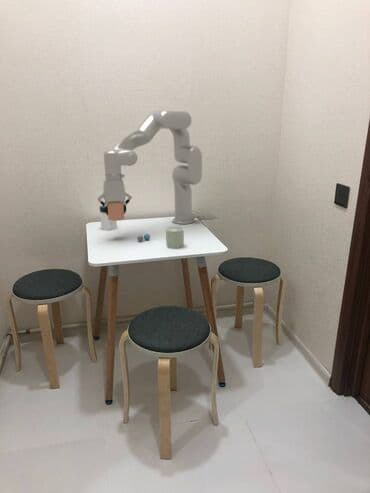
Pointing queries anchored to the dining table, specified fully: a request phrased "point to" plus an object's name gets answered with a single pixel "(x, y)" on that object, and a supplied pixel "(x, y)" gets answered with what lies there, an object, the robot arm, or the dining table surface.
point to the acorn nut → (174, 237)
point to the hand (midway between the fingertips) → (115, 213)
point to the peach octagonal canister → (115, 210)
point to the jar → (106, 220)
